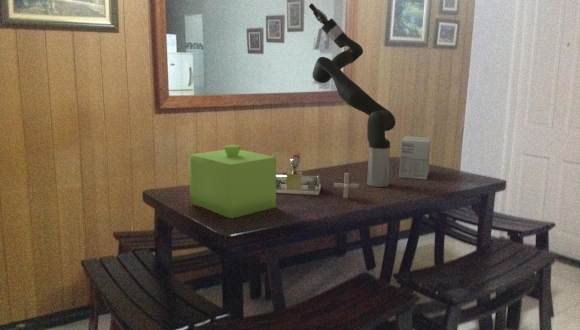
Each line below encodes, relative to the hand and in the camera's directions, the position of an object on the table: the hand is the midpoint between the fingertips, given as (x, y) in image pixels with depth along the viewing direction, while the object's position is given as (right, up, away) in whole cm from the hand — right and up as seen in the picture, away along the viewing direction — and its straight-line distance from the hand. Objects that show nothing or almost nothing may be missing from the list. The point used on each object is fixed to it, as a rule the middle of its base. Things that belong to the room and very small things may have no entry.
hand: (310, 4), depth 264 cm
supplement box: (+50, -89, -15) cm, 103 cm away
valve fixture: (-9, -94, -48) cm, 106 cm away
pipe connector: (+12, -97, -58) cm, 114 cm away
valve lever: (-8, -83, -44) cm, 95 cm away
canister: (-32, -99, -72) cm, 127 cm away
